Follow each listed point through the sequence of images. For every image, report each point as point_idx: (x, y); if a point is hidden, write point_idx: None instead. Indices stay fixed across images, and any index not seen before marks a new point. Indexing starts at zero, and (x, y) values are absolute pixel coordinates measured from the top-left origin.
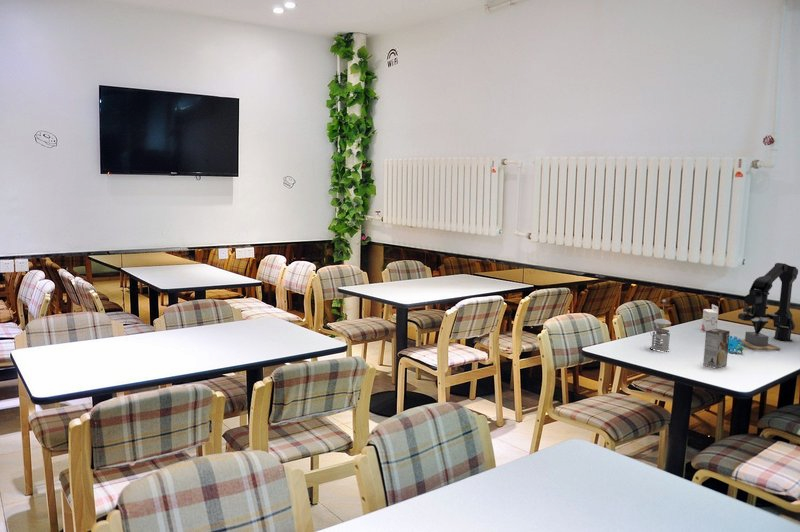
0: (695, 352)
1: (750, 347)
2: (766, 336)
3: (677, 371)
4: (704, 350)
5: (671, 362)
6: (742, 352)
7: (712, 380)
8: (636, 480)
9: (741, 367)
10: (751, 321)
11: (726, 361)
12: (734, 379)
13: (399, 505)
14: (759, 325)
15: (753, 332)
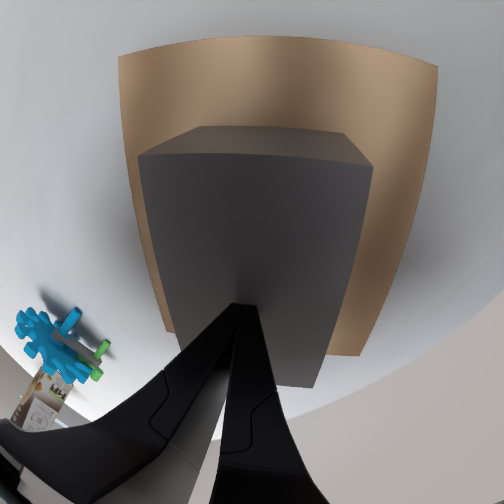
0: (4, 299)
1: (162, 311)
2: (291, 384)
3: (25, 367)
4: (27, 389)
5: (5, 338)
6: (108, 346)
7: (66, 401)
8: (63, 424)
9: (99, 400)
10: (61, 434)
11: (68, 392)
12: (89, 412)
13: (21, 396)
14: (196, 466)
15: (253, 212)
